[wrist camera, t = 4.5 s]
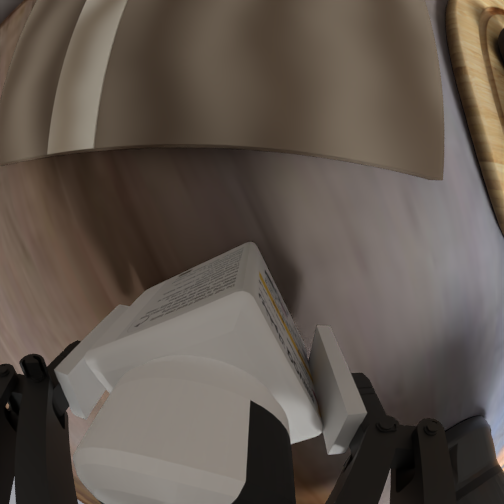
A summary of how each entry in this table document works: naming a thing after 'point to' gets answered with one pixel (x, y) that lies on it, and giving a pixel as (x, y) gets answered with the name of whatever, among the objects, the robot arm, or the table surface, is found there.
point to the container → (201, 392)
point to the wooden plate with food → (481, 84)
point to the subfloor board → (228, 80)
